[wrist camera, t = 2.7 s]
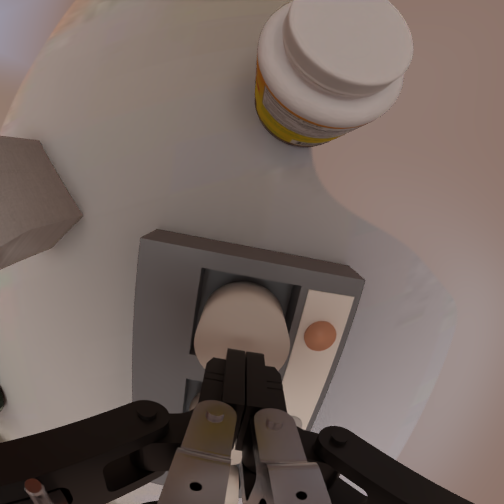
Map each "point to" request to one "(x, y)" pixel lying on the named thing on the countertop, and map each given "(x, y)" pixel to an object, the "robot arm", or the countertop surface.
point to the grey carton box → (30, 201)
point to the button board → (195, 297)
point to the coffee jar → (1, 401)
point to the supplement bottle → (329, 67)
